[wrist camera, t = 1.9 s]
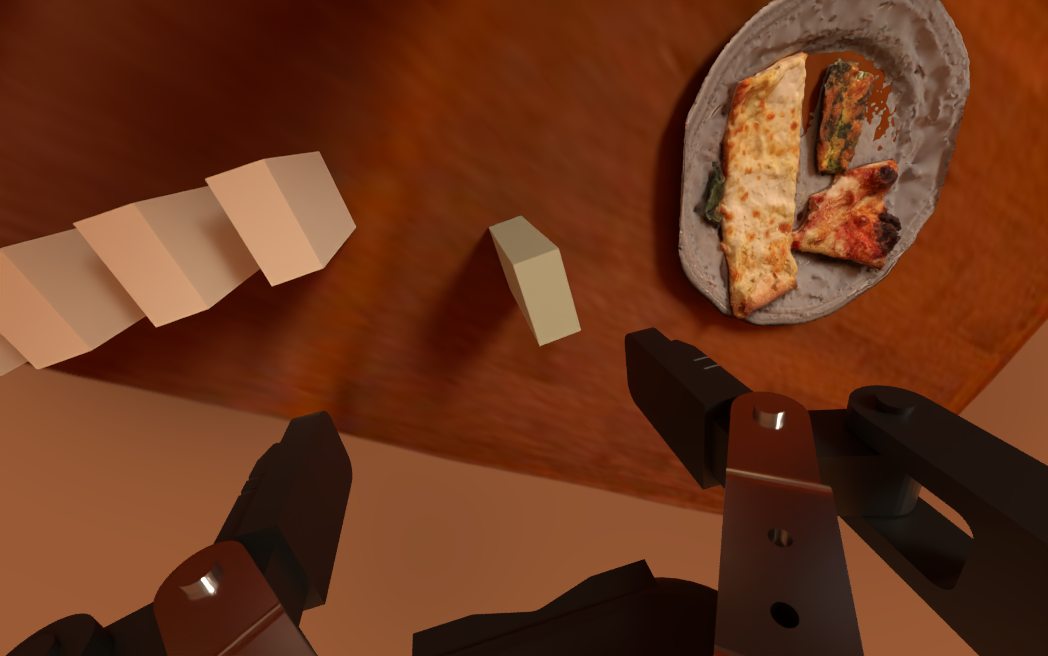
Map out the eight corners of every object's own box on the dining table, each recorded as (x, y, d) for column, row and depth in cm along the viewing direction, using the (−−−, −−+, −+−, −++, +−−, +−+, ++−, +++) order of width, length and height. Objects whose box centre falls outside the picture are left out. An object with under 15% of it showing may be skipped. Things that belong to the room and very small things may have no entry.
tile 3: (233, 180, 26) (133, 202, 17) (278, 254, 29) (208, 308, 20) (194, 193, 26) (72, 223, 17) (241, 267, 28) (155, 327, 20)
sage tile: (520, 215, 31) (558, 248, 22) (539, 277, 33) (580, 330, 24) (488, 227, 31) (512, 264, 22) (509, 288, 33) (539, 345, 24)
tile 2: (146, 209, 26) (-1, 248, 17) (198, 282, 28) (91, 350, 19) (106, 223, 26) (-64, 269, 17) (161, 295, 28) (37, 369, 19)
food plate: (889, 296, 41) (927, 309, 38) (662, 339, 38) (683, 357, 35) (971, -28, 31) (1033, -49, 28) (670, -4, 28) (700, -24, 25)
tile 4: (319, 151, 27) (263, 159, 18) (356, 227, 29) (323, 268, 20) (280, 164, 26) (204, 178, 18) (320, 239, 29) (271, 286, 20)
